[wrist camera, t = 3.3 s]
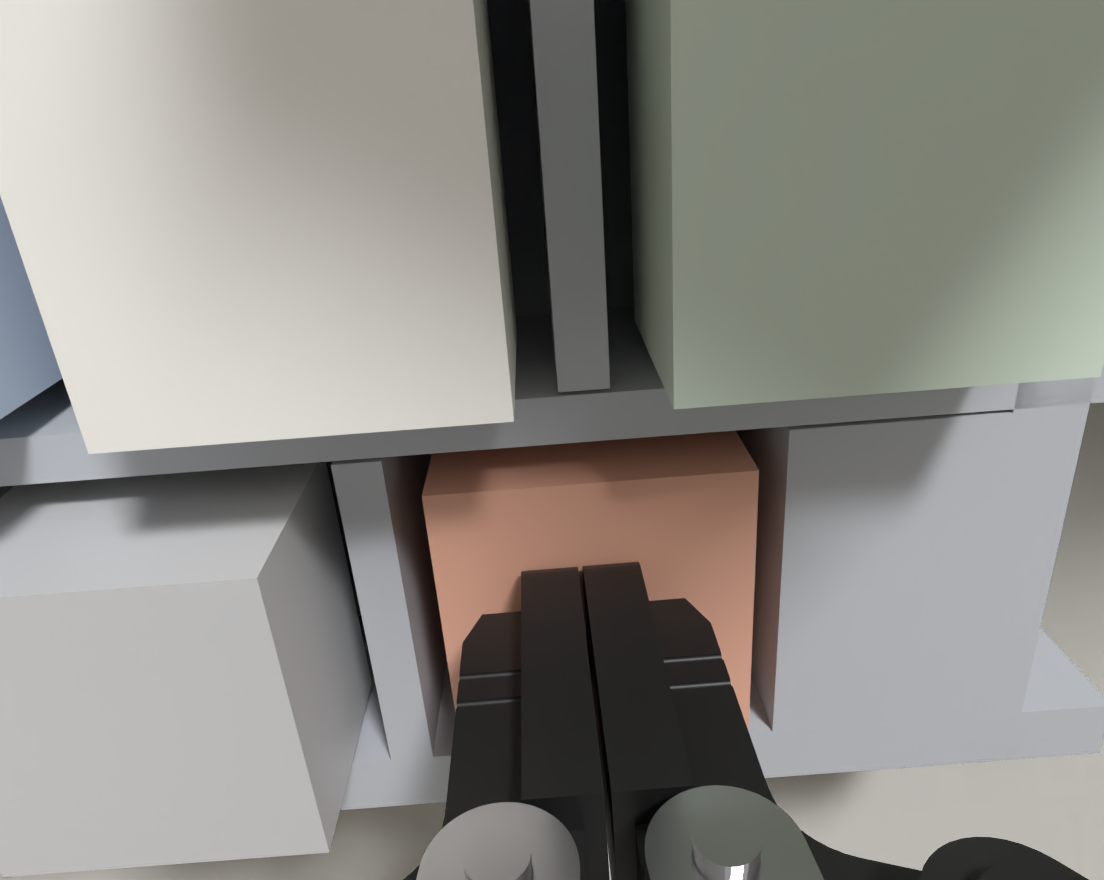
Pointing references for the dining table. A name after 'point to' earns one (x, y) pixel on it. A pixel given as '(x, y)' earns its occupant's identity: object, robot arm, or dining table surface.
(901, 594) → the keypad board
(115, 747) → the key grey
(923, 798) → the dining table surface
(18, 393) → the key blue
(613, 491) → the key terracotta
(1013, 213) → the key sage
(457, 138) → the key ivory
